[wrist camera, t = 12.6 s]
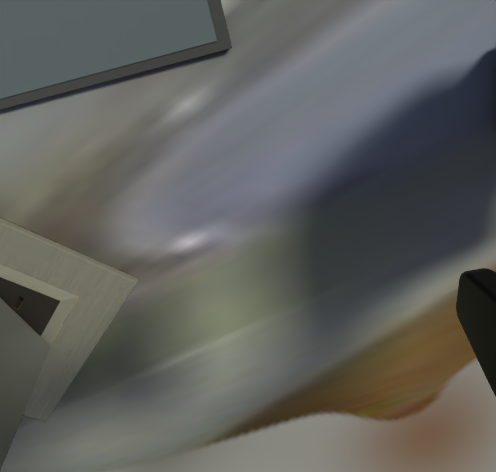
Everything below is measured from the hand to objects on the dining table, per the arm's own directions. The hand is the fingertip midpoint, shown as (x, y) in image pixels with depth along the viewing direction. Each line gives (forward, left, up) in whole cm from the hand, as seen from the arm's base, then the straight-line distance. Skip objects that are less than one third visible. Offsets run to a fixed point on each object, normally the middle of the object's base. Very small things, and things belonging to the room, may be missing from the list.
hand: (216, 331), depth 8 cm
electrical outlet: (+14, +8, -14) cm, 21 cm away
